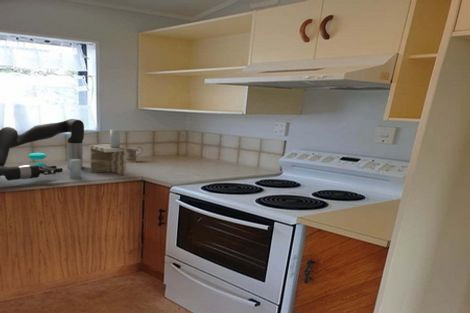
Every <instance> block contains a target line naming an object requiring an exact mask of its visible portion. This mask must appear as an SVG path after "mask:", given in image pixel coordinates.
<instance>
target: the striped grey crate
mask: <svg viewBox="0 0 470 313" xmlns="http://www.w3.org/2000/svg"><path fill="white" fill-rule="evenodd" d="M89 146H90V147H89V148H90V173H99V172H100V173H101V172H109V171H110V172H112V173H116V174H119V175H121V176H126V175H127V172H126V171H127V170H126V169H127V162H126V149H127V147H126V146H125V147H124V146H121V145H120V148H111V147H110V143H108V144H90V145H89Z"/></svg>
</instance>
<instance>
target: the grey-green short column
mask: <svg viewBox="0 0 470 313" xmlns="http://www.w3.org/2000/svg"><path fill="white" fill-rule="evenodd" d="M80 178H82V168H81V160H80V159H70V168H69V179H71V180H76V179H80Z"/></svg>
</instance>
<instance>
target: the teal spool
mask: <svg viewBox="0 0 470 313" xmlns="http://www.w3.org/2000/svg"><path fill="white" fill-rule="evenodd" d="M46 157H47V154H46V153H43V152H32V153H29V154H28V158H29V159H30V160H33V161H36V160H37V161H38V160H39V161H40V160H44V159H45V158H46ZM33 164H37V165H38V166H45V165H46V166H47V164H46V163H44V162H33V163H30V164H29V165H33Z"/></svg>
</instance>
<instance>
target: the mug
mask: <svg viewBox="0 0 470 313" xmlns="http://www.w3.org/2000/svg"><path fill="white" fill-rule="evenodd" d="M138 149H141V153H138V154H137V152H138ZM143 152H144V149H143V148H142V147H141V146H137V148H126V164H127V163H131V164H133V163H134V162H135V163H137V162H138V161H137V157H138V156H140V155H141V154H143Z"/></svg>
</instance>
